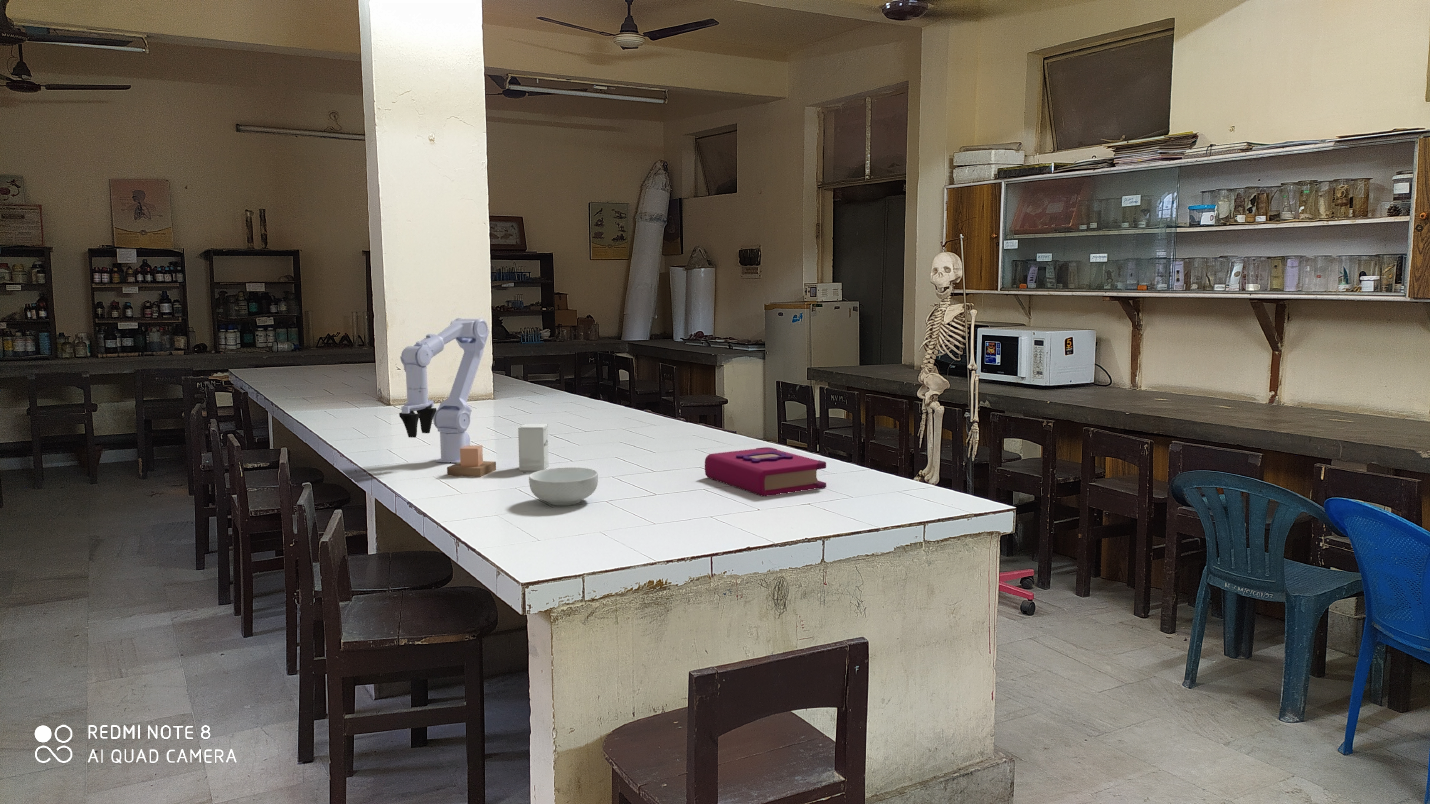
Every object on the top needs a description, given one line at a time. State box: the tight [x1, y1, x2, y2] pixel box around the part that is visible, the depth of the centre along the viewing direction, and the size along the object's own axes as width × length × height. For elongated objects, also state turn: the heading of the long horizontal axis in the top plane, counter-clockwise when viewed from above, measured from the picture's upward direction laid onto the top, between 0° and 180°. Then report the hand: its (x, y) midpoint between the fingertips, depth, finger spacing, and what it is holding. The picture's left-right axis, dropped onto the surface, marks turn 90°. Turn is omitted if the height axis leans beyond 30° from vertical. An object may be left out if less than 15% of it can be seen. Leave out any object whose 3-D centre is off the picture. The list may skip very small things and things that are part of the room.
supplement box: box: [517, 423, 549, 472], centre depth 281 cm, size 7×7×13 cm
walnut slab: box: [446, 460, 497, 478], centre depth 276 cm, size 10×10×3 cm
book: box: [704, 446, 827, 497], centre depth 260 cm, size 21×28×8 cm
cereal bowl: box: [528, 466, 599, 506], centre depth 239 cm, size 17×17×7 cm
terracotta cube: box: [460, 444, 484, 466], centre depth 276 cm, size 5×5×5 cm
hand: (419, 435), depth 281 cm, fingers open, 7 cm apart
